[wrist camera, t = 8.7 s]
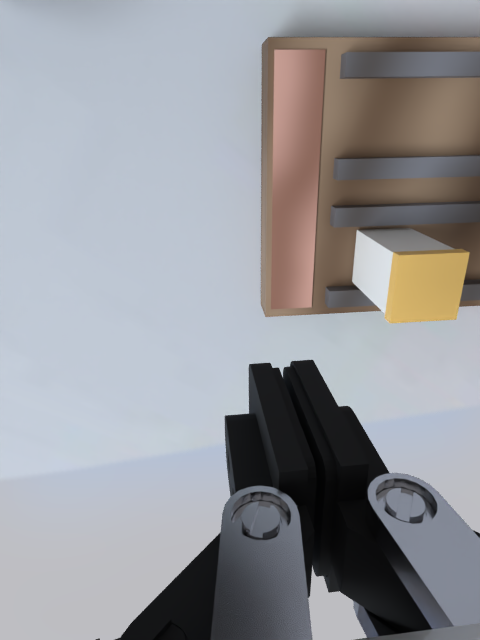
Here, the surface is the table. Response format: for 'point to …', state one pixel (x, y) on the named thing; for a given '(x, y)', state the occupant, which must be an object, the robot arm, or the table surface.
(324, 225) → the board
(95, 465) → the table surface
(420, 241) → the block
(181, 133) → the table surface
